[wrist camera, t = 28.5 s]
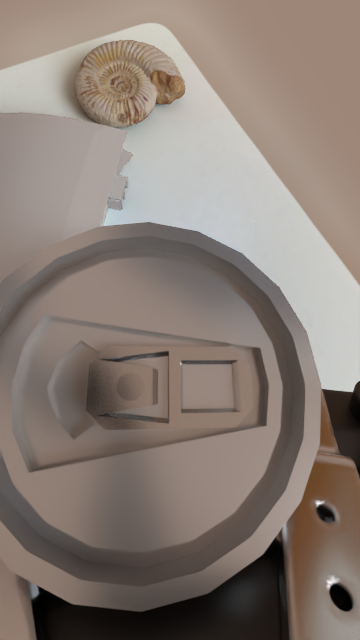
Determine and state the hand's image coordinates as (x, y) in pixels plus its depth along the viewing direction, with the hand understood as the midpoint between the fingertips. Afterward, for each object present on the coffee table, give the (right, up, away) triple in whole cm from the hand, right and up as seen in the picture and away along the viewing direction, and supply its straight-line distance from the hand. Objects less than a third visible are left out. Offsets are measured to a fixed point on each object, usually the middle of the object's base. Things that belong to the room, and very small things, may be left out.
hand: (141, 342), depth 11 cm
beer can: (0, -3, +5) cm, 6 cm away
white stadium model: (-12, +11, +20) cm, 26 cm away
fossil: (-5, +28, +26) cm, 38 cm away
